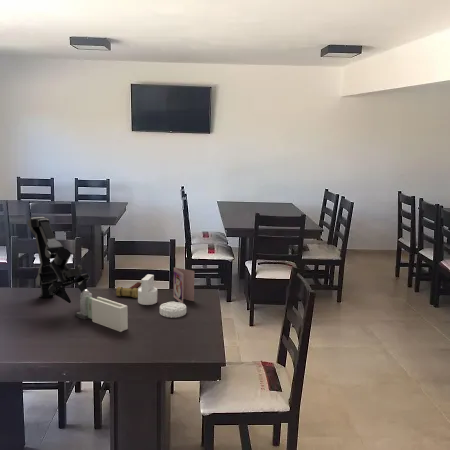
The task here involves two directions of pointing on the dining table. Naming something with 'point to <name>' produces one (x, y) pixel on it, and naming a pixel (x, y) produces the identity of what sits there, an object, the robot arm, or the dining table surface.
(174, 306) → the mooncake
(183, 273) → the greeting card
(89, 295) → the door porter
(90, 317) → the door panel
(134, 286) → the gavel
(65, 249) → the robot arm
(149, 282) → the base with upright slab
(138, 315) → the dining table surface
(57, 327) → the dining table surface
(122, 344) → the dining table surface
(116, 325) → the white slotted block
